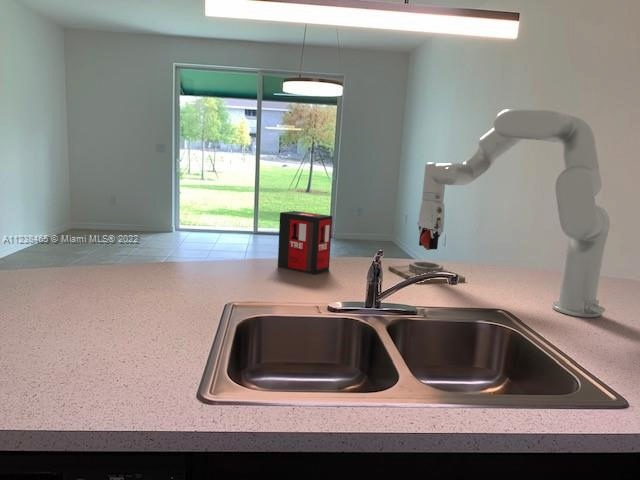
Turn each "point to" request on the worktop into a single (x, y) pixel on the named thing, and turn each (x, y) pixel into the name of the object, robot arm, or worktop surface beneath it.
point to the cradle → (420, 271)
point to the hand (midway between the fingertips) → (427, 246)
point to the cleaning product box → (304, 242)
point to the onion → (426, 239)
